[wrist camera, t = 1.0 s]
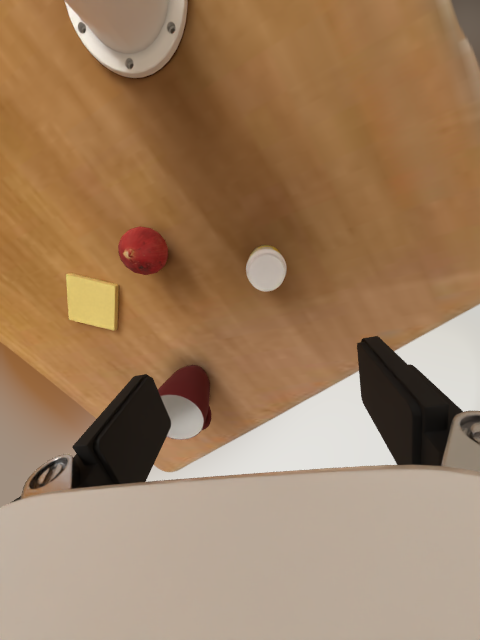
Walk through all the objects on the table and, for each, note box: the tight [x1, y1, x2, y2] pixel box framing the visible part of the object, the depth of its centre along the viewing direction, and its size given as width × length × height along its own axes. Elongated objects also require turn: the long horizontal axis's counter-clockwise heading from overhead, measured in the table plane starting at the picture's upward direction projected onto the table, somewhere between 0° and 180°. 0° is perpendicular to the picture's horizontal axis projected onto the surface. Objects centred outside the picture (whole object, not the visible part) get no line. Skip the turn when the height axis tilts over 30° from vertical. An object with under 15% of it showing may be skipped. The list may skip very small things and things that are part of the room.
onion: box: [118, 227, 168, 275], centre depth 30 cm, size 6×6×8 cm
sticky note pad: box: [66, 273, 119, 330], centre depth 37 cm, size 8×8×1 cm
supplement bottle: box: [246, 245, 286, 291], centre depth 29 cm, size 5×5×8 cm
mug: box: [158, 365, 211, 440], centre depth 37 cm, size 11×8×10 cm
